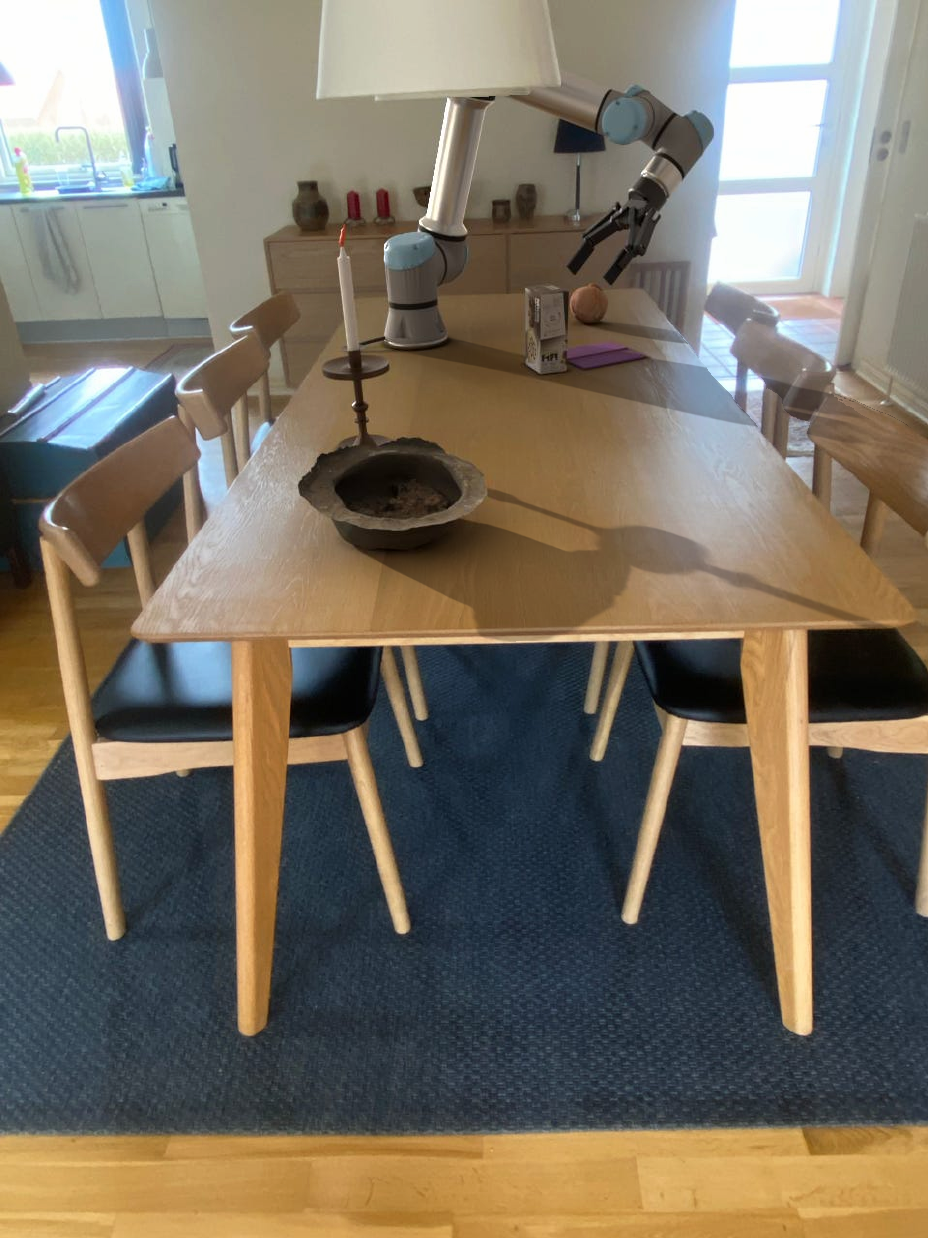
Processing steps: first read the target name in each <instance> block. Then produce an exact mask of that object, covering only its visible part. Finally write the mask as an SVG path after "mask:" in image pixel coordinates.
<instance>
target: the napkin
mask: <svg viewBox="0 0 928 1238" xmlns="http://www.w3.org/2000/svg"><path fill="white" fill-rule="evenodd" d="M647 358H648V355H645V354H643V353H641V352H637V351H635V350H633V349H631V348H629V347H628V346H625V345H623V344H620V343H619V342H618V343H617V342H616V341H615V342H614V341H613V340H608V341H602V342H595V343H593V344H585V345H581V346H575V347H574V346H573V347H569V348H567V364H571V365H573V366H575V367H578V368H580V369H582V370H590V369H596V368H601V367H605V366H610V365H616V364H617V365H618V364H621V363H626V362H632V361H637V360H641V359H647Z"/></svg>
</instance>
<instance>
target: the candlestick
mask: <svg viewBox="0 0 928 1238" xmlns="http://www.w3.org/2000/svg"><path fill="white" fill-rule="evenodd" d="M345 241H346V224H345V223H344V224H343V227H342V229H341V230H340V237H339V241H338V244H339V246H340V249H339V250H340V252H339V256H338V257H336V259H337V267H338V274H339V275H338V276H339V284H340V285H339V286H340V293H341V301H342V311H343V318H344V319H343V320H344V328H345V336H346V345H344V346H342V347H341V348H340V349H341V351H343V352H347V355H344V356H339V357H336V358H333V359H329V360H327V361H325V362H324V363H323V364H322V365H321V371H322V375H323V377H325V378H326V379H329V380H334V381H345V382H347V381H348V382H349V381H351V382H353V389H354V390H353V391H354V399H355V400H354V401H355V402H353V403H352V404H351V408H352V411H353V412H354V413H356V418H354V424H357V427H358V434H357V435H353V436H349V437H347V438H344V439H343V440H341V441H340V442H338V445H337V449H338V448H339V447H341V448H342V449H343V448H345V447H346V446H349V447H351V446H355V445H359V446H362V445H365V446H368V445H370V447H377V446H379V445H382V444H384V443H387V442H391V441H392V440H391V439H390V438H389V437H387V436H385V435H381V434H374V433H373V434H369V432H368V428H367V426H368V425H367V423H369V422H370V418H369V417H367V414H366V412H367V411H368V409H369V406H370V405H369V403H368V402H367V401H365V400H364V391H363V383H362V382H363V381H365V380H369V379H374V378H377V377H381V376H384V375H385V374H387V373H388V372H389V371H390V361H389V359H388V358H386V357H384V356H380V355H374V354H362V350H365V349H366V348H367V346H366V345H359V343H360V340H359V331H358V321H357V313H356V304H355V294H354V285H353V274H352V266H351V258H350V256H348V255H347V253H346V250H345V247H344V246H345Z"/></svg>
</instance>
